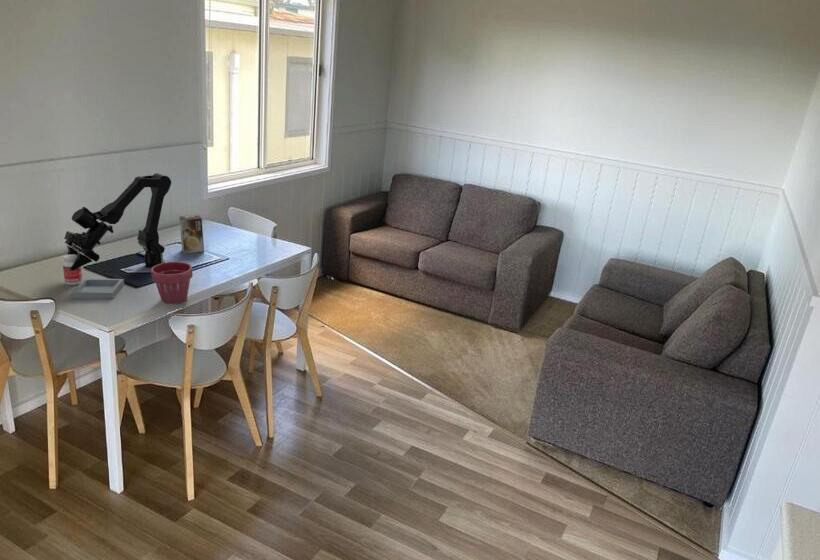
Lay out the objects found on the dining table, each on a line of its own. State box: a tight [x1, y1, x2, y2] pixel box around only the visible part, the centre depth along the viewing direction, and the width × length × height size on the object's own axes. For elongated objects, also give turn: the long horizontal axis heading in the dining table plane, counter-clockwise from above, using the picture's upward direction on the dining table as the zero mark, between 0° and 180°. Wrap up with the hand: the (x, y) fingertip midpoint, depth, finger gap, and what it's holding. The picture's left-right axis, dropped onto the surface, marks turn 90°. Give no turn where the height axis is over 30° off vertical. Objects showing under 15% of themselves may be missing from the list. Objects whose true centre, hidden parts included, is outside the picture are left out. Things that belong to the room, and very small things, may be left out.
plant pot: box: [150, 261, 193, 305], centre depth 231 cm, size 14×14×13 cm
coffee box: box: [178, 214, 205, 255], centre depth 284 cm, size 9×6×16 cm
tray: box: [70, 278, 125, 300], centre depth 236 cm, size 14×14×2 cm
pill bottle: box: [62, 254, 84, 286], centre depth 241 cm, size 6×6×11 cm
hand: (68, 267), depth 239 cm, fingers closed on pill bottle, 6 cm apart
